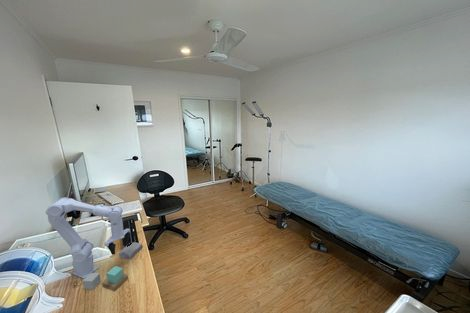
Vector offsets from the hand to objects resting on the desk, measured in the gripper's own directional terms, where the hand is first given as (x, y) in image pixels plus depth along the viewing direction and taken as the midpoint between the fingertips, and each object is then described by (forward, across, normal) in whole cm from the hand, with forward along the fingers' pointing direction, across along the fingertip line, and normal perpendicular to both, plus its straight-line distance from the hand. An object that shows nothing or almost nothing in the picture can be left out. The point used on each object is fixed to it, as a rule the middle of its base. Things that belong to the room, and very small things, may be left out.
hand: (119, 249), depth 108 cm
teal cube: (+8, -10, -8) cm, 15 cm away
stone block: (+11, +10, +4) cm, 16 cm away
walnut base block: (+11, -10, -8) cm, 17 cm away
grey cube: (+10, -15, +2) cm, 18 cm away
